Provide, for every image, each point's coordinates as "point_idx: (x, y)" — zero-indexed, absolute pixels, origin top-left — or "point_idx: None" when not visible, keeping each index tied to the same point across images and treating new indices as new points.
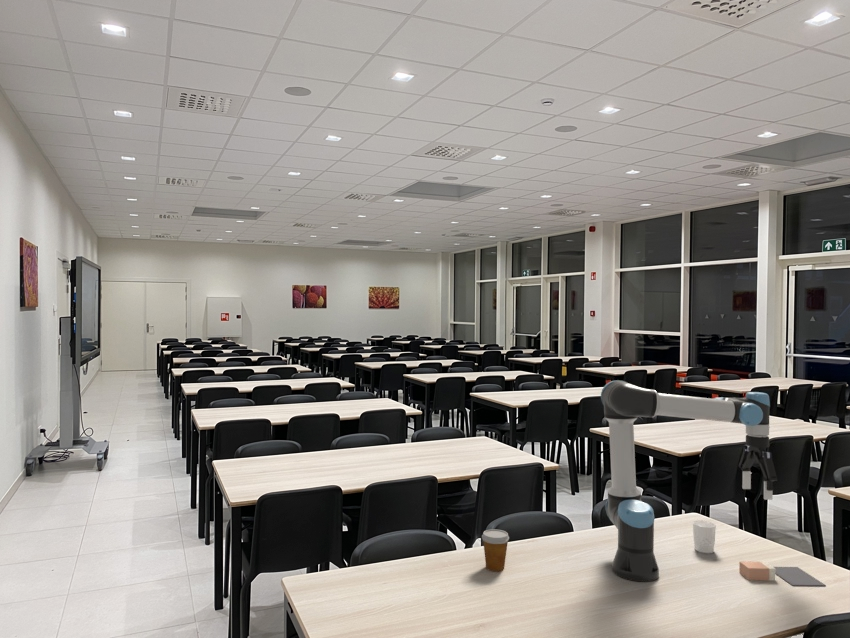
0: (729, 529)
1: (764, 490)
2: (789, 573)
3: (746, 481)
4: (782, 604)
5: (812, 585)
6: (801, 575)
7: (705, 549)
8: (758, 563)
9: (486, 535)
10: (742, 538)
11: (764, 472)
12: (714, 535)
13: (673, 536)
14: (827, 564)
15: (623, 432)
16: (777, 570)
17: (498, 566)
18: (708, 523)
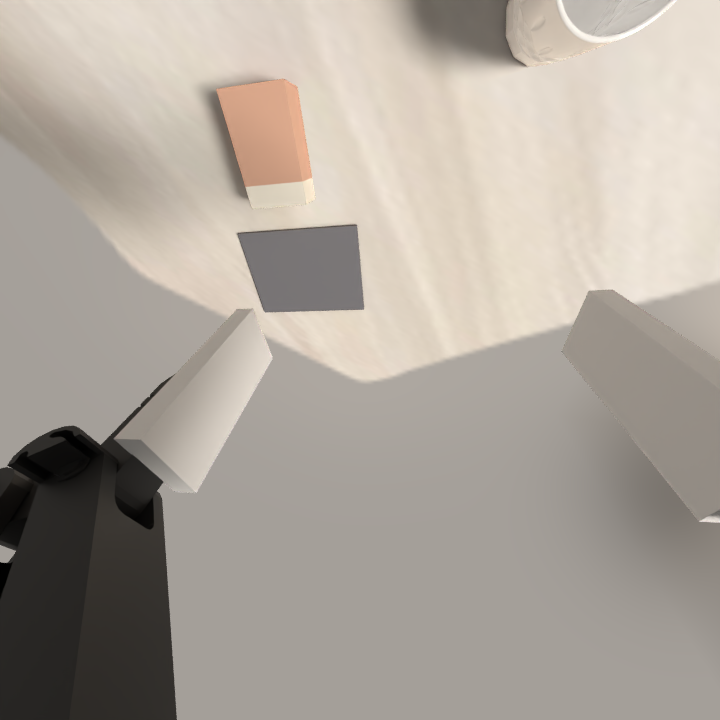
0: (707, 269)
1: (202, 352)
2: (316, 267)
3: (627, 365)
4: (83, 128)
5: (256, 284)
6: (309, 290)
7: None
8: (281, 166)
9: None
10: (605, 272)
11: (8, 597)
12: (537, 32)
13: None
14: (390, 375)
15: None
16: (331, 244)
17: None
18: (660, 5)
